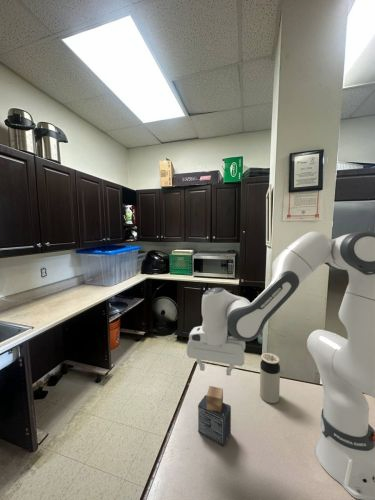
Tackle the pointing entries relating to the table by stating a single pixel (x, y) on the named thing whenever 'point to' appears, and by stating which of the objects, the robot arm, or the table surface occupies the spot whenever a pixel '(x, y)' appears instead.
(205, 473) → the table surface
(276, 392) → the travel mug
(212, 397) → the tan cube
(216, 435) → the small box
